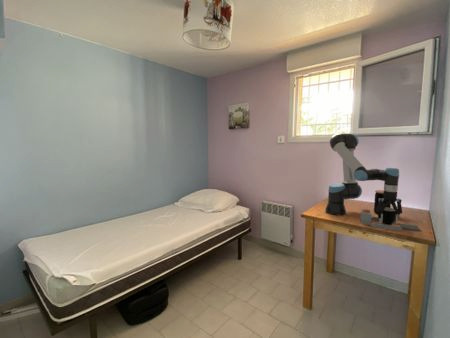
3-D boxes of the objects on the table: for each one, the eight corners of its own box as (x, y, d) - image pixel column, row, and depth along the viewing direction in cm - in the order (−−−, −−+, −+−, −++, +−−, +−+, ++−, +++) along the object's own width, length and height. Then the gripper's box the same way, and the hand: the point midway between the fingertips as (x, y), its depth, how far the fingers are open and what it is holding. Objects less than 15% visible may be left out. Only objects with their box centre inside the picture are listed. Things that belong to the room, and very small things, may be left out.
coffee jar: (392, 216, 175) (394, 193, 173) (377, 215, 177) (378, 192, 175) (385, 211, 185) (387, 190, 183) (371, 211, 187) (372, 189, 185)
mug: (380, 219, 163) (381, 206, 162) (395, 223, 157) (396, 208, 156) (376, 224, 155) (377, 210, 153) (392, 227, 148) (394, 213, 147)
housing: (361, 225, 156) (362, 214, 155) (360, 218, 170) (360, 208, 169) (401, 230, 146) (402, 218, 145) (396, 223, 160) (397, 212, 159)
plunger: (362, 217, 160) (363, 210, 160) (362, 215, 164) (362, 208, 163) (369, 217, 158) (369, 211, 158) (368, 216, 162) (369, 209, 161)
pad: (401, 229, 149) (401, 228, 149) (398, 224, 158) (398, 223, 158) (421, 231, 144) (421, 230, 144) (416, 226, 153) (416, 225, 153)
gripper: (376, 191, 150) (374, 224, 153) (411, 192, 148) (408, 225, 151) (370, 189, 157) (368, 220, 160) (403, 189, 156) (400, 221, 158)
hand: (387, 222), depth 156 cm, fingers closed on mug, 9 cm apart
